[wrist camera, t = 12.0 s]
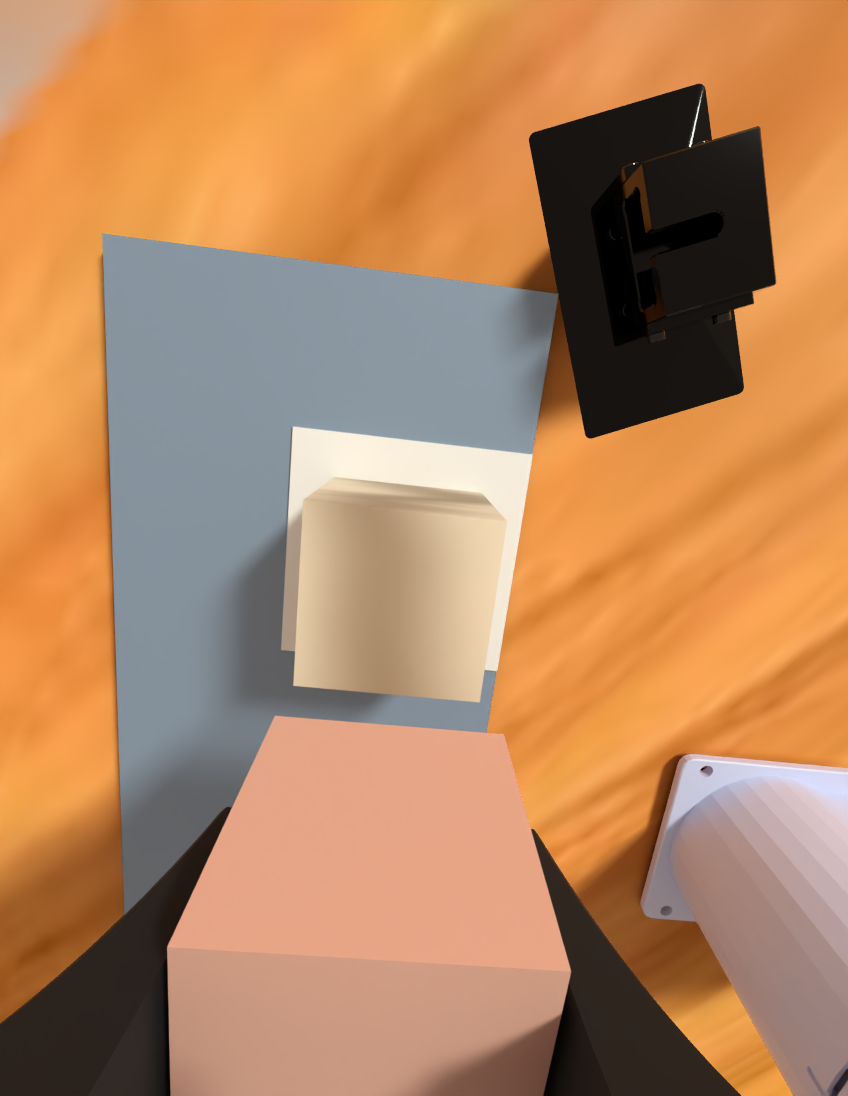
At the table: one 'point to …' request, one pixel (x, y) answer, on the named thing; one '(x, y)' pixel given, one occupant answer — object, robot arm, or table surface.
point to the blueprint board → (279, 490)
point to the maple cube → (396, 589)
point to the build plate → (653, 253)
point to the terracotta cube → (369, 925)
